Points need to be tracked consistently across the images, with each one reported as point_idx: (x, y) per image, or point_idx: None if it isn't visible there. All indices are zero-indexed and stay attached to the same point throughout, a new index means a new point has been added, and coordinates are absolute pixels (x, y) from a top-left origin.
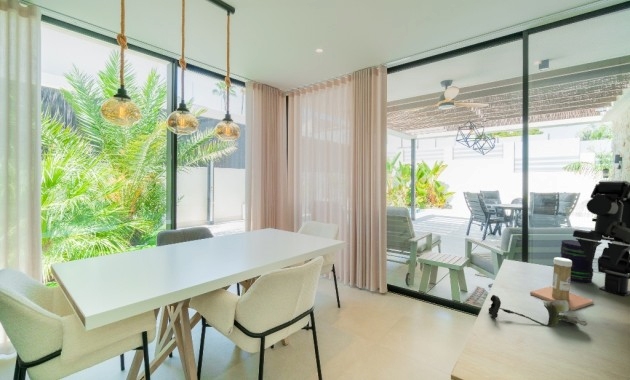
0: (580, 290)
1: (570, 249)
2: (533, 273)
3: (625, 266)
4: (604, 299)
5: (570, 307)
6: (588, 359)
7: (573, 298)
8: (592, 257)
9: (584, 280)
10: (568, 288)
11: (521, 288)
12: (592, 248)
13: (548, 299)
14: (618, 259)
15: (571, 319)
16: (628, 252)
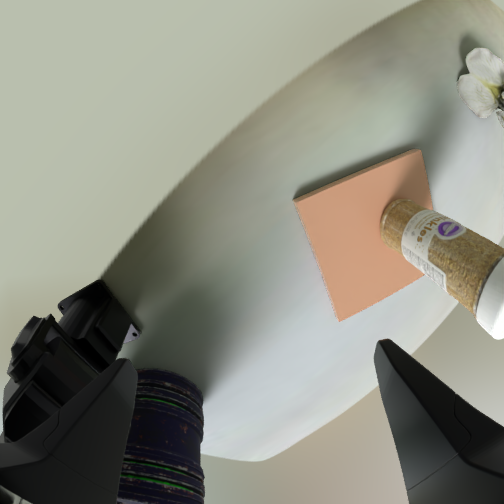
0: (225, 318)
1: (194, 493)
2: (269, 415)
3: (50, 361)
4: (201, 245)
5: (419, 156)
6: (488, 15)
7: (359, 219)
8: (411, 360)
9: (156, 378)
10: (428, 212)
11: (418, 302)
12: (487, 418)
13: None
14: (96, 388)
15: (479, 82)
16: (6, 430)
